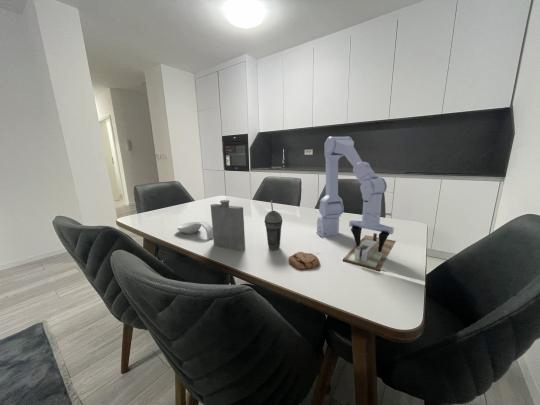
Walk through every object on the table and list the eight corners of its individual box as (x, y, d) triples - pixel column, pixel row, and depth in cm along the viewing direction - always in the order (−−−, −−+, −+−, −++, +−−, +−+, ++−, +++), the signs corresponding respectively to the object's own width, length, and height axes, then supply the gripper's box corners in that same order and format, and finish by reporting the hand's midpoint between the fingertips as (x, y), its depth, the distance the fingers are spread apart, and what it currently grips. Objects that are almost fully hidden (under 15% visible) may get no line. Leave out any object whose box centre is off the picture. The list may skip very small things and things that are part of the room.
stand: (380, 271, 71) (381, 254, 69) (342, 261, 78) (343, 245, 77) (395, 243, 92) (397, 229, 91) (365, 237, 99) (366, 224, 98)
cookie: (322, 270, 73) (322, 261, 73) (290, 271, 73) (290, 263, 72) (315, 256, 83) (315, 249, 82) (287, 257, 83) (287, 250, 82)
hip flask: (246, 248, 91) (244, 200, 87) (241, 251, 88) (238, 202, 84) (217, 241, 99) (213, 197, 95) (210, 245, 96) (206, 199, 91)
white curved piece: (173, 233, 112) (171, 219, 111) (193, 226, 122) (191, 214, 120) (202, 243, 99) (200, 227, 97) (222, 235, 108) (221, 221, 106)
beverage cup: (270, 253, 86) (268, 203, 82) (262, 246, 92) (260, 199, 88) (286, 249, 89) (285, 200, 85) (277, 243, 96) (276, 197, 91)
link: (365, 249, 85) (365, 239, 84) (376, 251, 82) (377, 241, 81) (354, 259, 76) (355, 248, 76) (366, 263, 74) (367, 252, 73)
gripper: (397, 212, 76) (393, 249, 79) (354, 207, 86) (353, 240, 89) (392, 217, 71) (388, 256, 74) (347, 211, 80) (346, 246, 83)
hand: (368, 248), depth 81 cm, fingers open, 7 cm apart
